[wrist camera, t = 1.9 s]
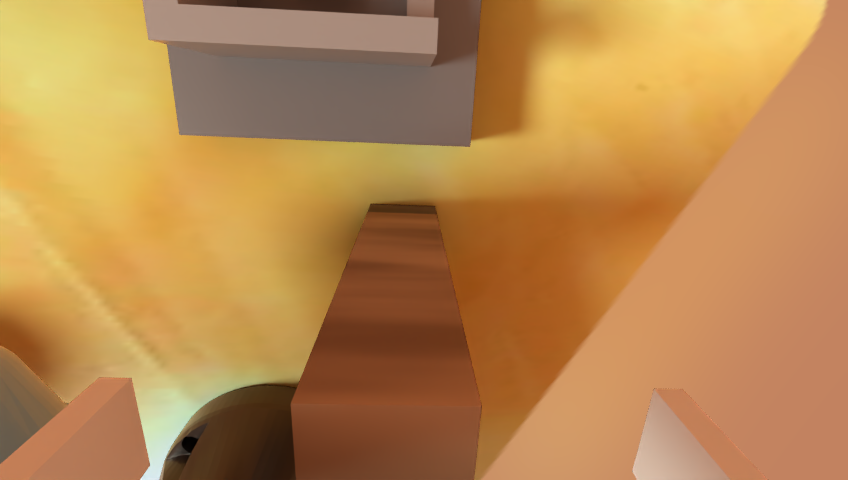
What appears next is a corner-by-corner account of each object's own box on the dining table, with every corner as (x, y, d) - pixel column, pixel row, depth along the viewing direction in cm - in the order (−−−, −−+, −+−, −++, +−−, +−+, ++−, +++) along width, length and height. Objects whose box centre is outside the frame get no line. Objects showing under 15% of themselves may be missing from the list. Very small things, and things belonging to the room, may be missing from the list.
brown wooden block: (431, 265, 27) (467, 542, 10) (370, 263, 27) (300, 541, 10) (434, 206, 26) (481, 406, 9) (370, 203, 26) (290, 404, 9)
